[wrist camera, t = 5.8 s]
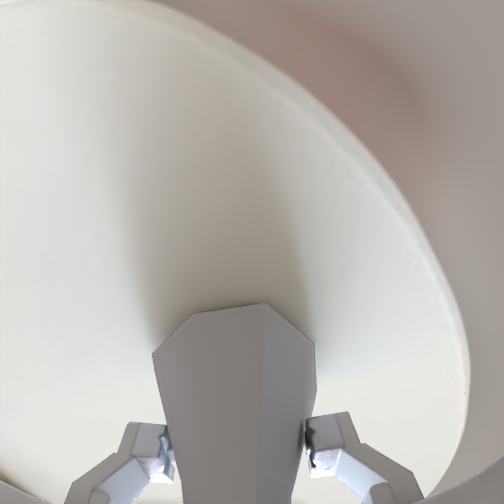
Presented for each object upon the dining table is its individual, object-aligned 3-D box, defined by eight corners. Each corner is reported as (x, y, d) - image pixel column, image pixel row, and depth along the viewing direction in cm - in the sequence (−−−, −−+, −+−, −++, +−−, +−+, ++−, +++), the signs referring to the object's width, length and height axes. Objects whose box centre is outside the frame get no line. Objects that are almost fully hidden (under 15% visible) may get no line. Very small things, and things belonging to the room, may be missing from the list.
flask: (276, 269, 11) (360, 560, 2) (338, 389, 13) (403, 570, 4) (126, 341, 12) (33, 544, 3) (212, 436, 14) (203, 602, 5)
